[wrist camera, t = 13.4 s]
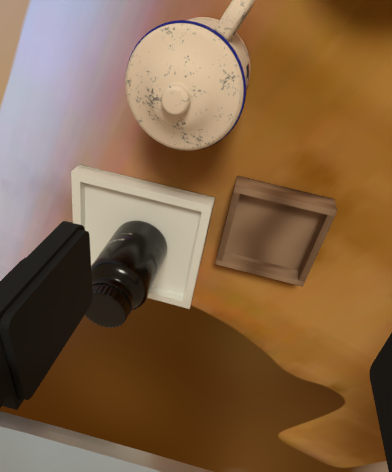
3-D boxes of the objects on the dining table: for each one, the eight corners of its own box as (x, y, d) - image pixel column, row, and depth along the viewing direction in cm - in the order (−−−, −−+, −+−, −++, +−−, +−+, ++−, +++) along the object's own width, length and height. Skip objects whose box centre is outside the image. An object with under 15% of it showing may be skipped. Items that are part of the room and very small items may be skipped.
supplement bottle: (125, 208, 44) (79, 272, 34) (177, 234, 44) (147, 304, 34) (108, 248, 48) (63, 316, 38) (156, 272, 48) (124, 344, 38)
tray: (215, 197, 41) (212, 206, 40) (192, 298, 51) (189, 308, 49) (79, 164, 42) (71, 171, 41) (81, 269, 52) (74, 278, 50)
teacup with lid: (215, 138, 38) (192, 188, 28) (139, 81, 36) (88, 115, 27) (297, 27, 31) (304, 44, 22) (210, -48, 30) (175, -65, 20)
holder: (334, 199, 39) (337, 210, 37) (301, 273, 45) (302, 286, 43) (237, 175, 39) (234, 185, 37) (218, 251, 45) (215, 264, 43)
